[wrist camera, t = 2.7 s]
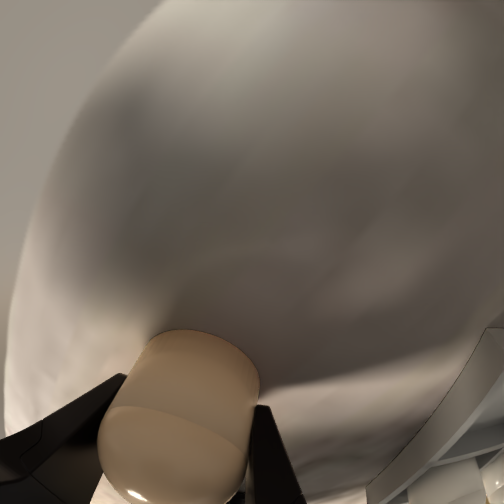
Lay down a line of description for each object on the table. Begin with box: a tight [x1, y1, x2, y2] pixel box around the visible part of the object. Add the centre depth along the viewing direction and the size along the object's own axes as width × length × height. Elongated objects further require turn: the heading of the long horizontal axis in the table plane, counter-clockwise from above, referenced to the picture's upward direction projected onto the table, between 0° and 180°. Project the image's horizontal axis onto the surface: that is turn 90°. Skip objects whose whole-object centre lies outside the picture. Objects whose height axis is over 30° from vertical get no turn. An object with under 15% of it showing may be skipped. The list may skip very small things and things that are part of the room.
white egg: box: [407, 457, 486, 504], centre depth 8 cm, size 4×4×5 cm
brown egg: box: [97, 329, 260, 504], centre depth 7 cm, size 4×4×5 cm
